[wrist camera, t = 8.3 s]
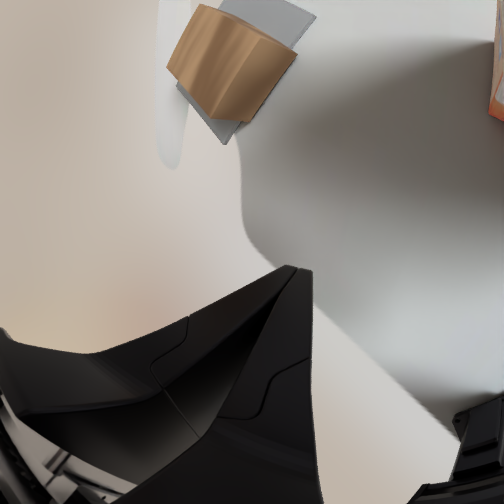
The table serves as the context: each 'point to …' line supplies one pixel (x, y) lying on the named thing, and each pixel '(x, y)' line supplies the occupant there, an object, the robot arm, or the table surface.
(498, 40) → the cracker box
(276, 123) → the table surface
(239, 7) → the mat
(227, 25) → the walnut block
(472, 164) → the table surface
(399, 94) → the table surface
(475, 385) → the table surface
